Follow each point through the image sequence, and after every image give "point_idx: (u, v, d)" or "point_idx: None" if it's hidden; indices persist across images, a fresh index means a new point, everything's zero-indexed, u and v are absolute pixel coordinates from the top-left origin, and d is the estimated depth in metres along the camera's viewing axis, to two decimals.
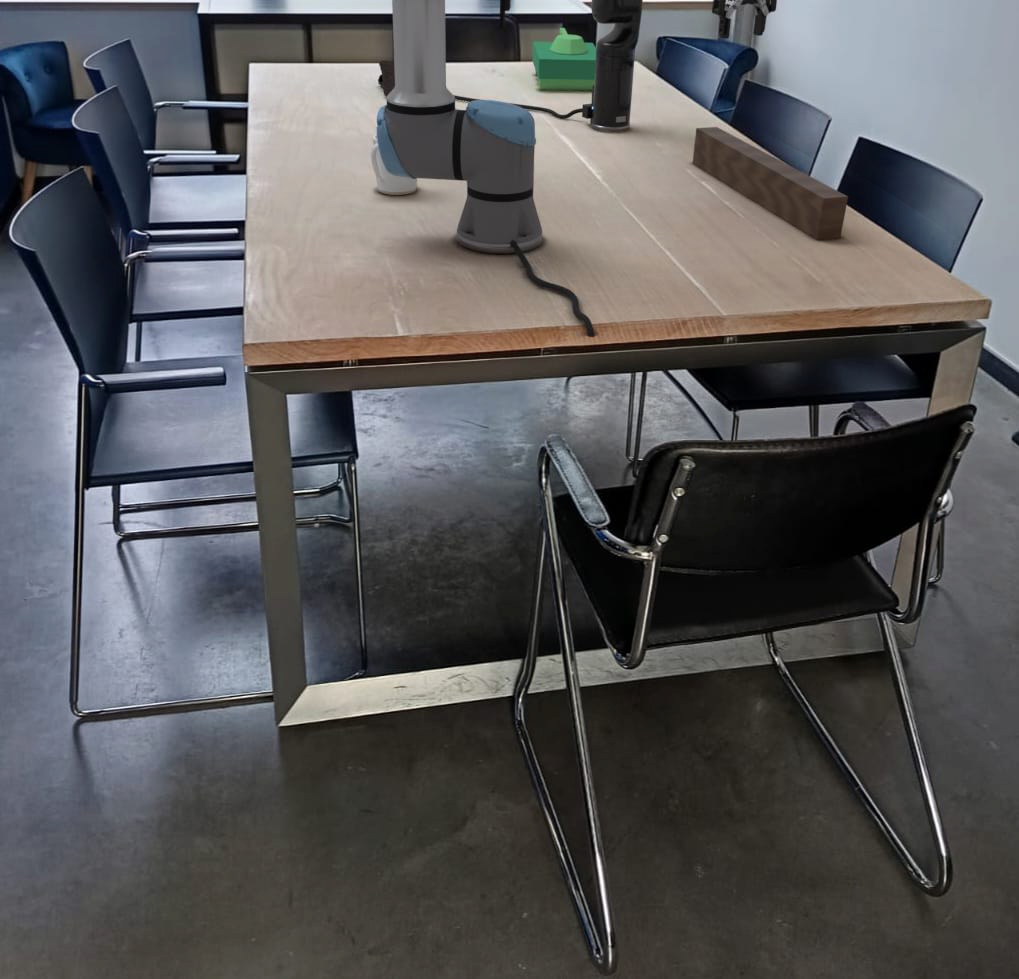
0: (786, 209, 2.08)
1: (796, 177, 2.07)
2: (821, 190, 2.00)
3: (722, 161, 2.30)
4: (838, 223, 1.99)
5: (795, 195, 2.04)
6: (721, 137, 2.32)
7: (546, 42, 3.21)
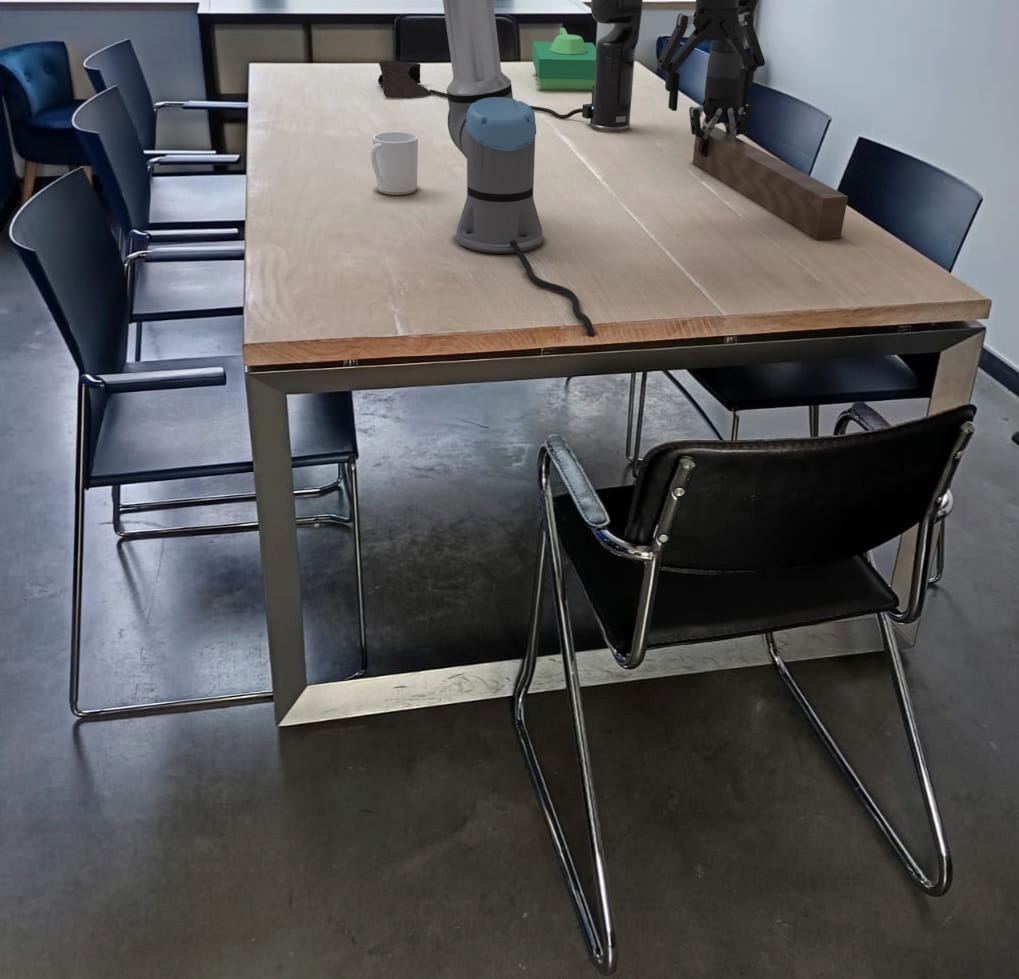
0: (786, 209, 2.08)
1: (796, 177, 2.07)
2: (821, 190, 2.00)
3: (722, 161, 2.30)
4: (838, 223, 1.99)
5: (795, 195, 2.04)
6: (721, 137, 2.32)
7: (546, 42, 3.21)
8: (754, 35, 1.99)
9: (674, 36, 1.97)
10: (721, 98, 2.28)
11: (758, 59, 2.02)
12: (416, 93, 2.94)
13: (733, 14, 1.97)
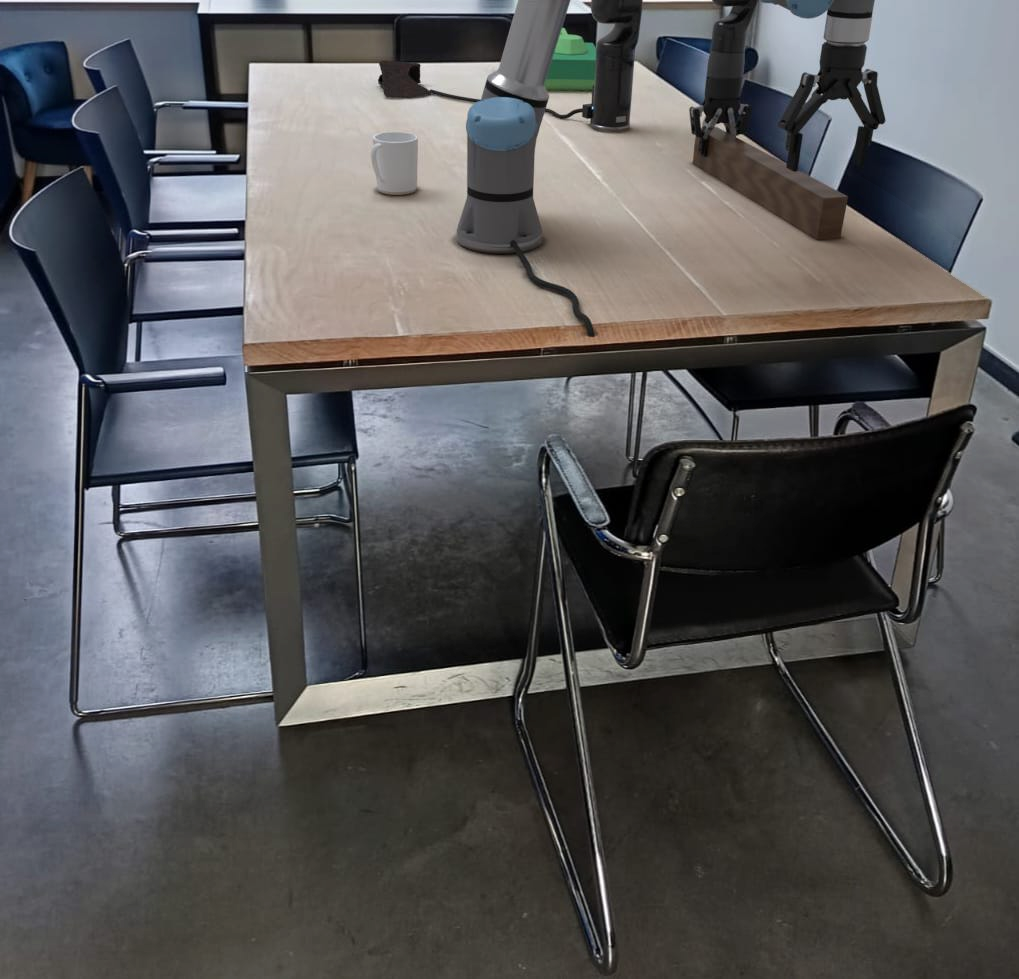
0: (786, 209, 2.08)
1: (796, 177, 2.07)
2: (821, 190, 2.00)
3: (722, 161, 2.30)
4: (838, 223, 1.99)
5: (795, 195, 2.04)
6: (721, 137, 2.32)
7: None
8: (877, 93, 1.93)
9: (798, 96, 1.90)
10: (721, 98, 2.28)
11: (879, 117, 1.95)
12: (416, 93, 2.94)
13: (858, 72, 1.90)
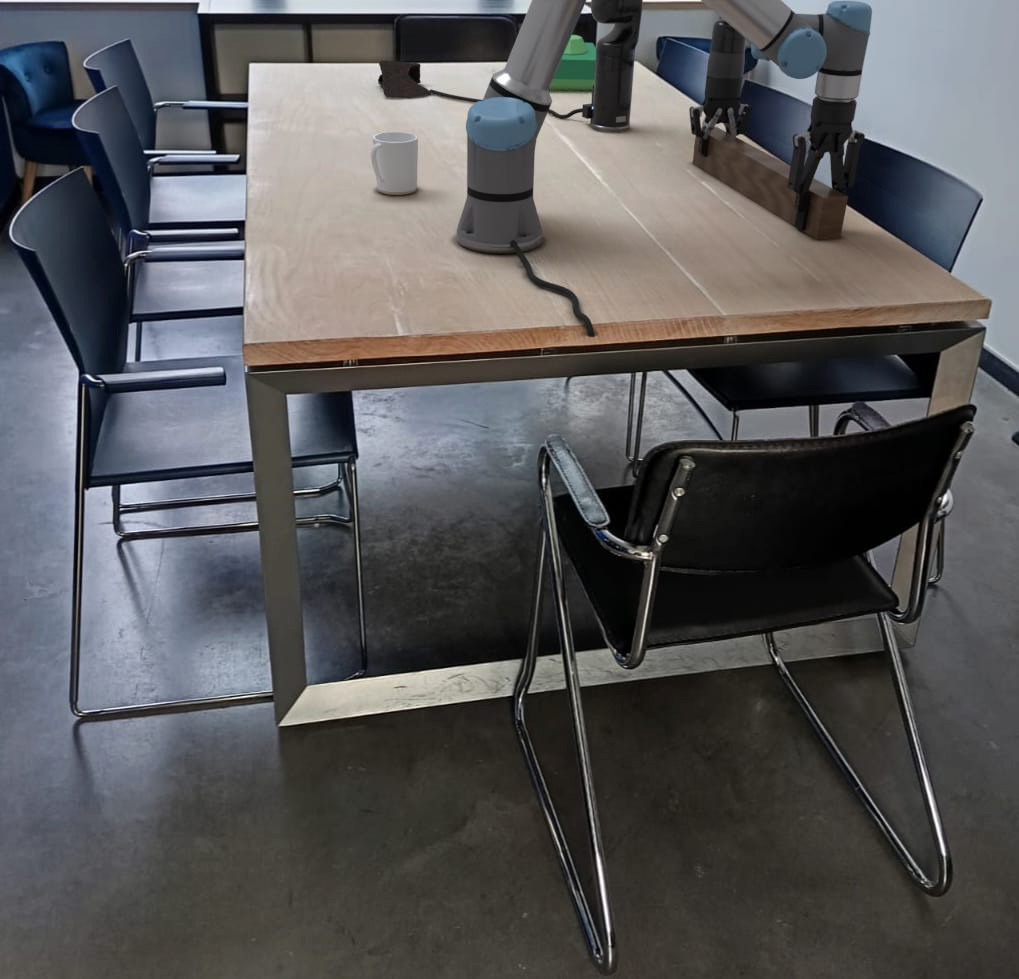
0: (786, 209, 2.08)
1: None
2: (821, 190, 2.00)
3: (722, 161, 2.30)
4: (838, 223, 1.99)
5: (795, 195, 2.04)
6: (721, 137, 2.32)
7: None
8: (857, 155, 1.98)
9: (796, 158, 1.96)
10: (721, 98, 2.28)
11: (849, 180, 2.00)
12: (416, 93, 2.94)
13: (848, 127, 1.95)
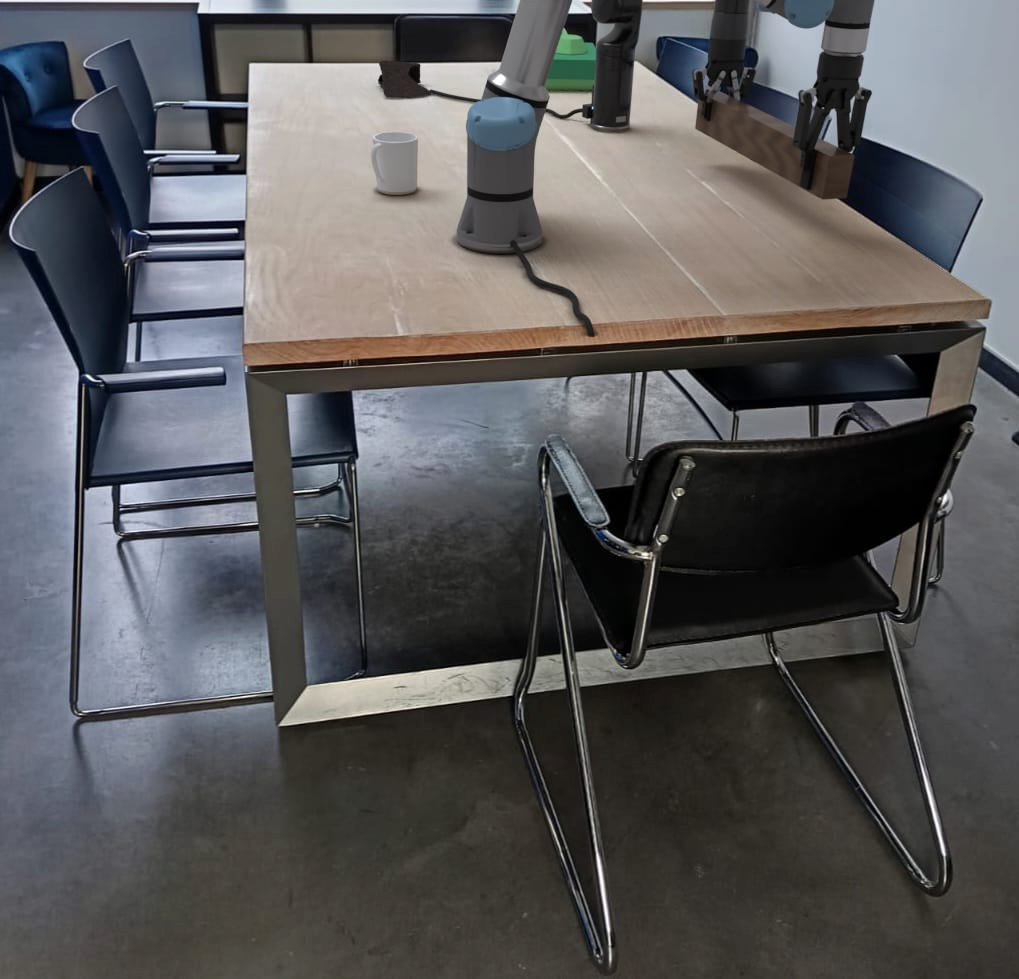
0: (791, 170, 2.04)
1: None
2: (827, 149, 1.96)
3: (725, 125, 2.26)
4: (844, 182, 1.95)
5: (800, 154, 2.00)
6: (724, 100, 2.28)
7: None
8: (863, 113, 1.94)
9: (802, 115, 1.92)
10: (725, 60, 2.24)
11: (856, 138, 1.96)
12: (416, 93, 2.94)
13: (855, 83, 1.91)
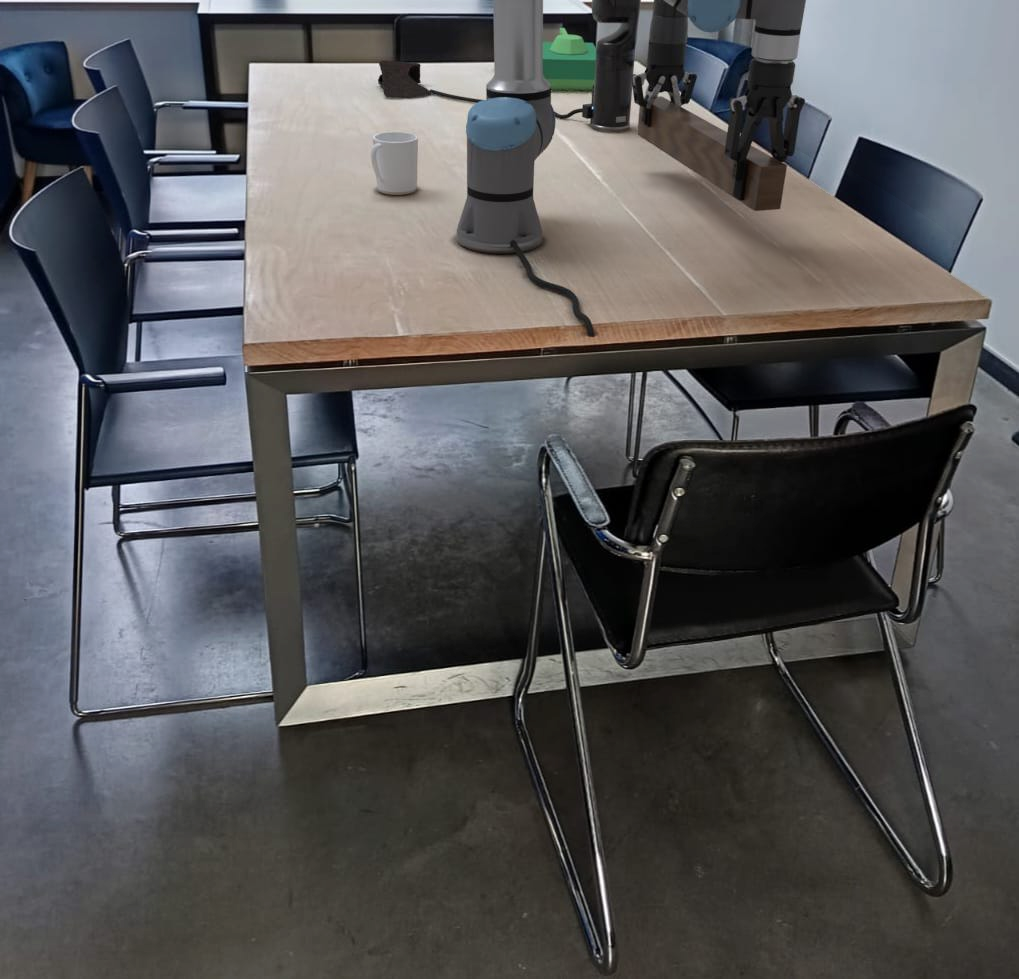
0: (726, 180, 1.98)
1: None
2: (759, 159, 1.90)
3: (664, 131, 2.20)
4: (777, 193, 1.90)
5: None
6: (664, 106, 2.22)
7: (546, 42, 3.21)
8: (797, 122, 1.89)
9: (732, 123, 1.86)
10: (664, 65, 2.18)
11: (789, 147, 1.91)
12: (416, 93, 2.94)
13: (787, 90, 1.85)
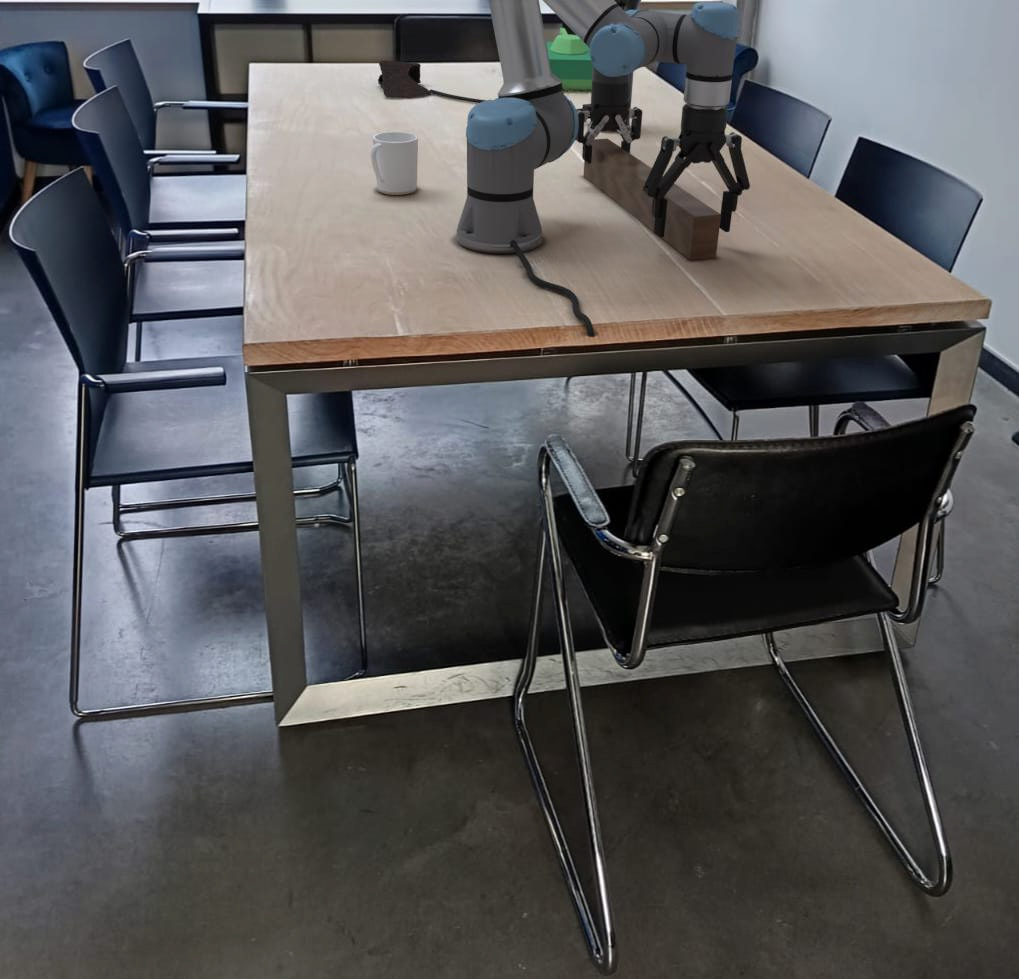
0: None
1: (673, 193, 1.96)
2: (694, 207, 1.89)
3: (608, 175, 2.19)
4: (712, 242, 1.88)
5: (670, 212, 1.94)
6: (608, 150, 2.21)
7: (546, 42, 3.21)
8: (741, 158, 1.86)
9: (659, 161, 1.83)
10: (607, 105, 2.16)
11: (743, 182, 1.89)
12: (416, 93, 2.94)
13: (721, 135, 1.83)
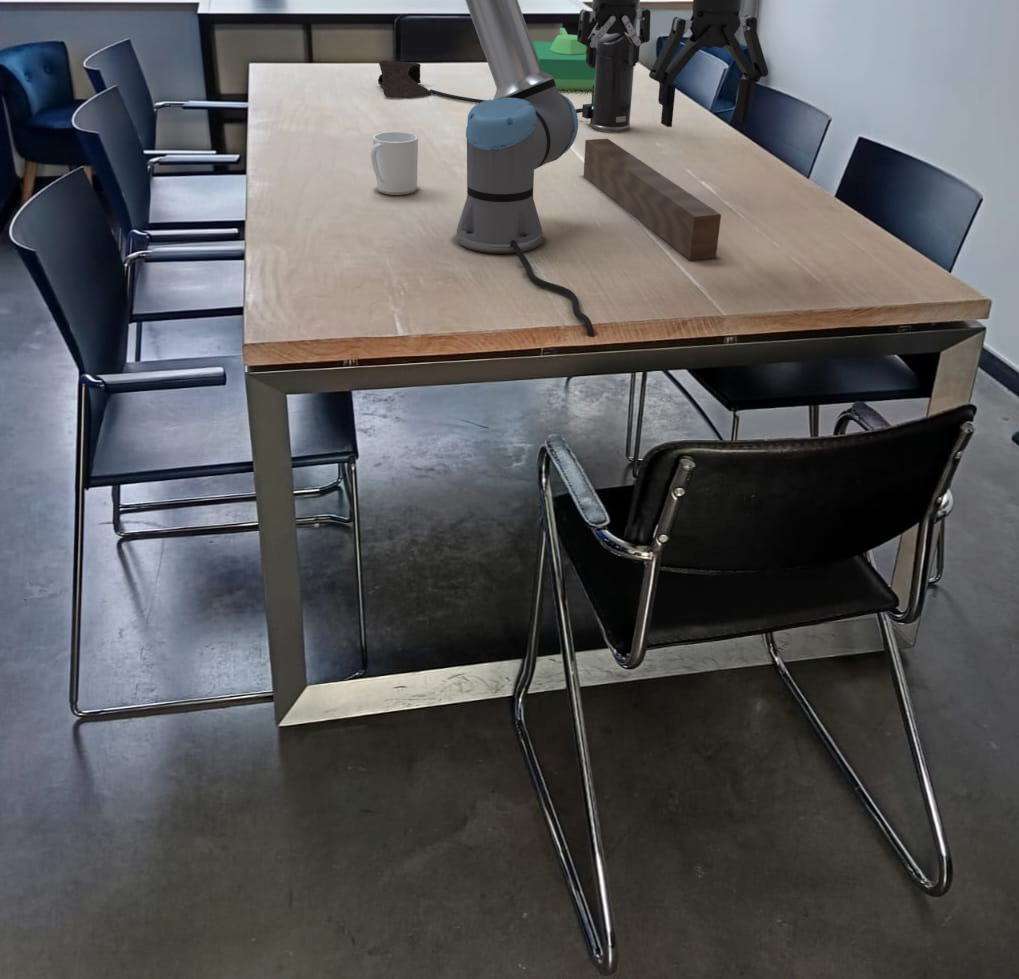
0: (663, 227, 1.97)
1: (673, 193, 1.96)
2: (694, 207, 1.89)
3: (608, 175, 2.19)
4: (712, 242, 1.88)
5: (670, 212, 1.94)
6: (608, 150, 2.21)
7: (546, 42, 3.21)
8: (757, 41, 1.77)
9: (669, 43, 1.73)
10: (613, 4, 2.06)
11: (761, 68, 1.79)
12: (416, 93, 2.94)
13: (735, 18, 1.74)
